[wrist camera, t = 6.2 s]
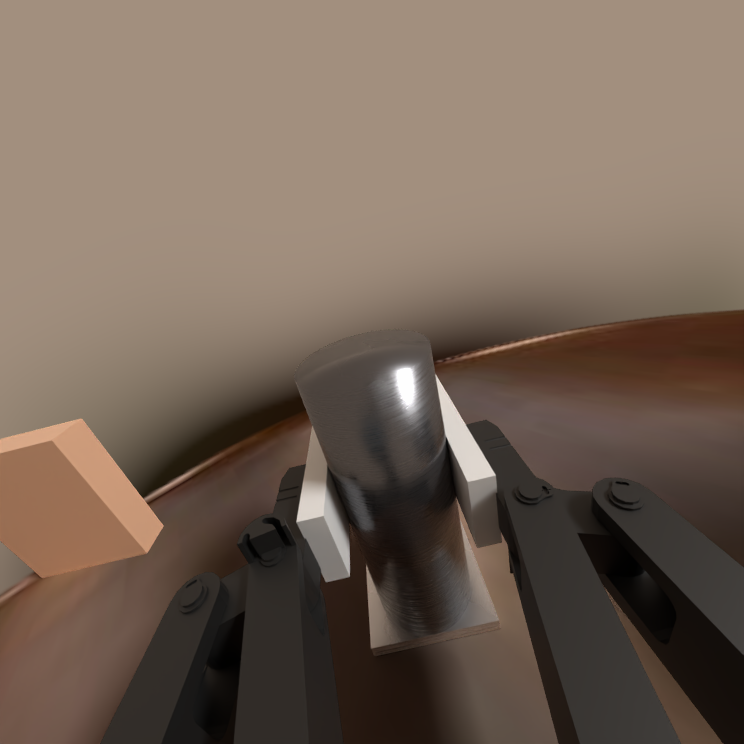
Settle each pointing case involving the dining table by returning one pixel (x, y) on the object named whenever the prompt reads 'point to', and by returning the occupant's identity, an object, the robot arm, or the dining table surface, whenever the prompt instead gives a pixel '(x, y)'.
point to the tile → (69, 502)
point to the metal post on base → (396, 486)
